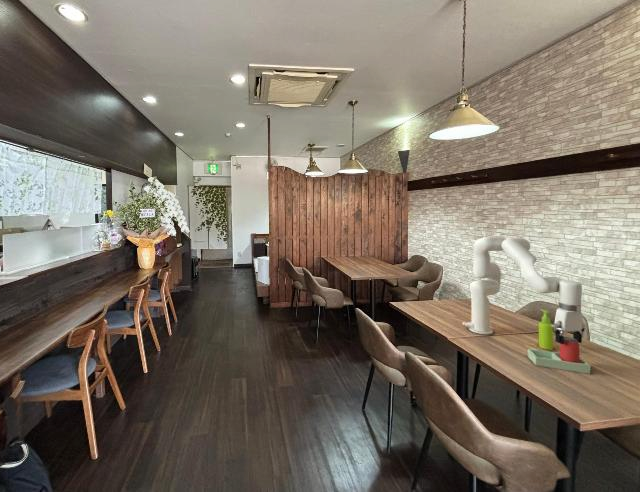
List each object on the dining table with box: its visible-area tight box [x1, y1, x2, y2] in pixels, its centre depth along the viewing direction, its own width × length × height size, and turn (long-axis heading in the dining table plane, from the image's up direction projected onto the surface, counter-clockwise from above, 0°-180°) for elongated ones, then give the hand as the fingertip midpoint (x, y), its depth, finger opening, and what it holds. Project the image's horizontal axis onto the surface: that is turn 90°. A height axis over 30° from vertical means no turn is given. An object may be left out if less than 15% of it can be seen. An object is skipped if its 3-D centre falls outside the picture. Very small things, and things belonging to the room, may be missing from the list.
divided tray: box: [527, 348, 591, 375], centre depth 138 cm, size 19×10×4 cm, turn 66°
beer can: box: [559, 336, 580, 363], centre depth 136 cm, size 7×7×12 cm
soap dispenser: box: [538, 309, 554, 351], centre depth 156 cm, size 6×7×20 cm
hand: (568, 342), depth 137 cm, fingers open, 9 cm apart
